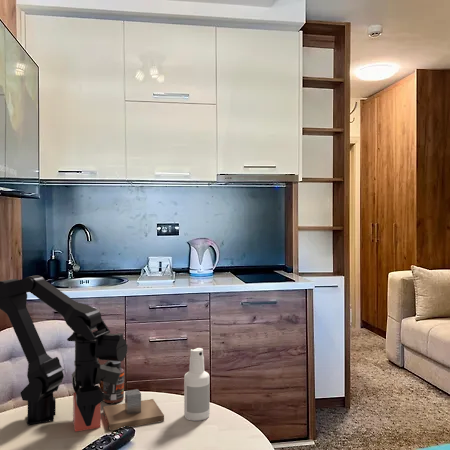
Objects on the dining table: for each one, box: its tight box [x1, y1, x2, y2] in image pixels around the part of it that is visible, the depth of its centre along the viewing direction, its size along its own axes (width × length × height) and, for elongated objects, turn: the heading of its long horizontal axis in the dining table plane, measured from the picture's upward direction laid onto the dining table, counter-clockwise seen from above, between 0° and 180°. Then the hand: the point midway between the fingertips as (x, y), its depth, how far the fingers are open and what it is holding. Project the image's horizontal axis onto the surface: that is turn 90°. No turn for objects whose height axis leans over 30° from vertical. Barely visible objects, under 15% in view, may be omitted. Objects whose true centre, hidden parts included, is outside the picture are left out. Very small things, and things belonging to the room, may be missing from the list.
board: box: [102, 398, 165, 431], centre depth 119 cm, size 14×12×2 cm
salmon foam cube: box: [72, 391, 102, 433], centre depth 114 cm, size 6×6×8 cm
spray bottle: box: [183, 347, 211, 422], centre depth 119 cm, size 7×7×18 cm
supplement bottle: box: [102, 361, 125, 404], centre depth 130 cm, size 6×6×11 cm
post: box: [124, 388, 142, 415], centre depth 119 cm, size 4×4×5 cm
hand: (86, 418), depth 114 cm, fingers open, 9 cm apart
